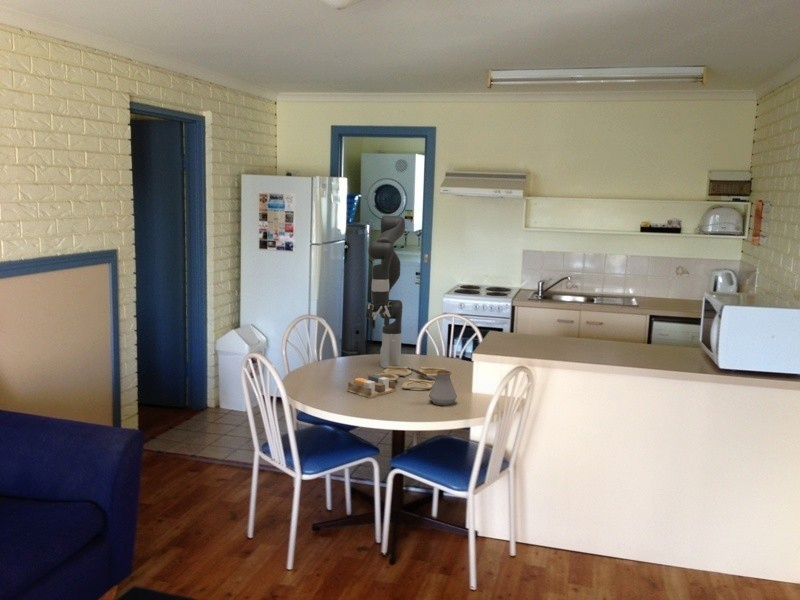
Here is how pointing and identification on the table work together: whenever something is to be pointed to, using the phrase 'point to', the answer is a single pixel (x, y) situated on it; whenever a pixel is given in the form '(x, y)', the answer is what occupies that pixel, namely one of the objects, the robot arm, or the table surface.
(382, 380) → the two-tone square pillar
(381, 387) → the brown wooden divided tray
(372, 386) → the orange white rectangular block
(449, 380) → the coffee pot
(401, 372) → the tableware set
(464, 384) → the table surface
